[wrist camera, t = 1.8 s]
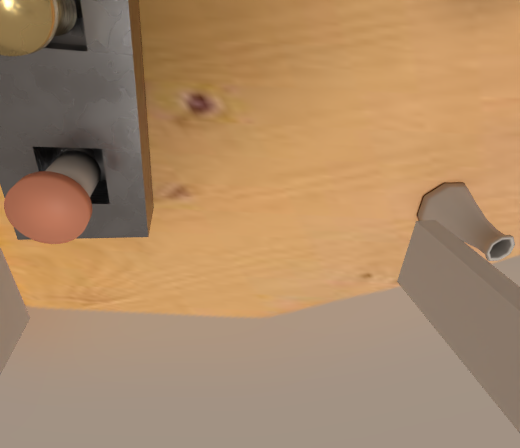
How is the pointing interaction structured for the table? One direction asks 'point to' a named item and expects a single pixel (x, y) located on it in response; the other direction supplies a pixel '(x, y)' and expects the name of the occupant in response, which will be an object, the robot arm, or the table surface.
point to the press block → (84, 114)
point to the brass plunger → (33, 24)
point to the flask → (465, 220)
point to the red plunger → (55, 199)
